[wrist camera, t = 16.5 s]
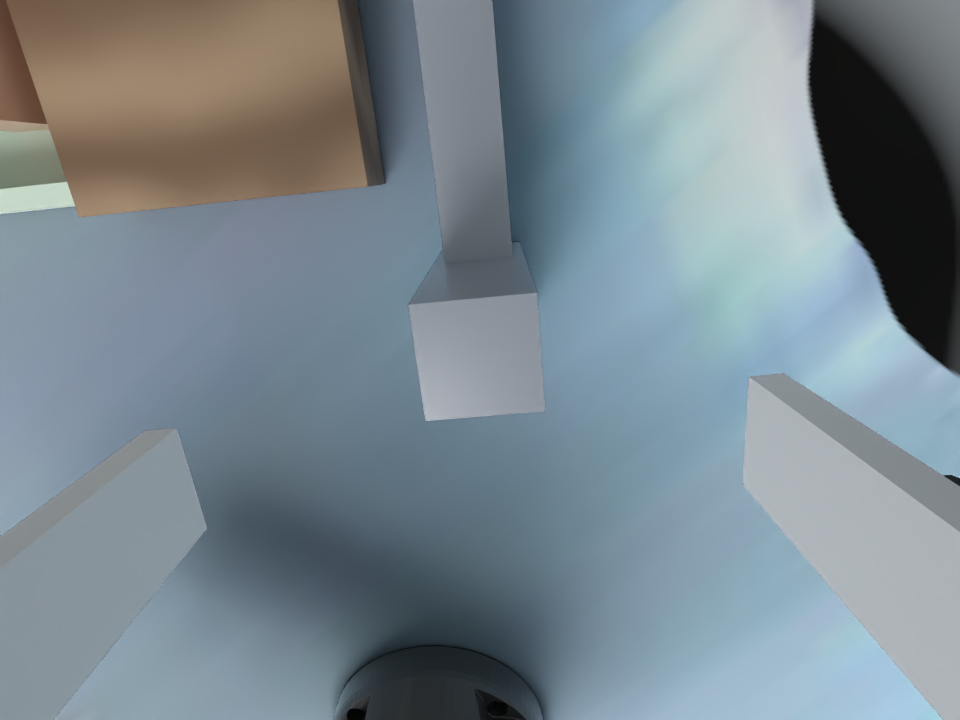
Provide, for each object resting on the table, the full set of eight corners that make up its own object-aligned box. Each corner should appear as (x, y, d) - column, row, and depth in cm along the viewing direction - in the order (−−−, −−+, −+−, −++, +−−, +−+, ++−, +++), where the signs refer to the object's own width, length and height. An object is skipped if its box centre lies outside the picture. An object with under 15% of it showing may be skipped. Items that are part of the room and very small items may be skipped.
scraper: (525, 316, 29) (545, 411, 18) (451, 323, 29) (425, 421, 18) (481, -275, 21) (466, -781, 10) (380, -260, 21) (252, -737, 10)
